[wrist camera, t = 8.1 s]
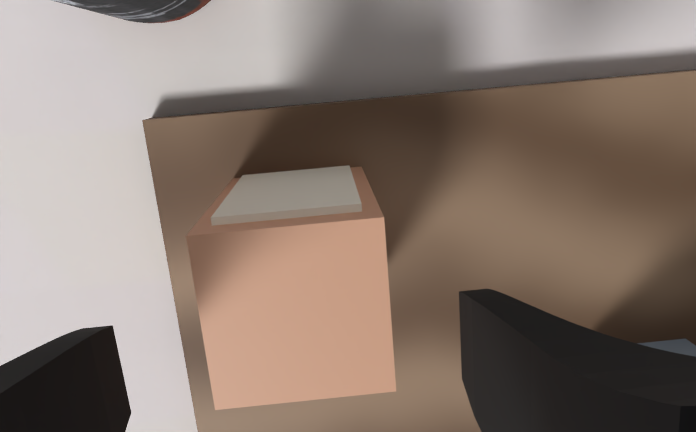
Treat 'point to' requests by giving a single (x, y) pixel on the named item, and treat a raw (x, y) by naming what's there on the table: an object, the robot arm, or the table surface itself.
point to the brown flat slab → (463, 221)
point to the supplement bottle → (141, 8)
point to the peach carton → (294, 288)
